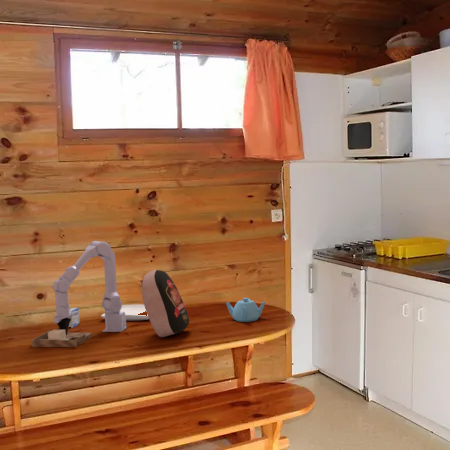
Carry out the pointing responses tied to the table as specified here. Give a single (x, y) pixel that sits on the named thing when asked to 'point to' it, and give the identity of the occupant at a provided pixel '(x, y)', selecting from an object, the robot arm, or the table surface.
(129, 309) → the square plate
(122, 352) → the table surface
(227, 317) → the table surface
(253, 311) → the teapot
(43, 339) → the trap tray
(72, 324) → the medicine box
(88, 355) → the table surface
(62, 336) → the cream block
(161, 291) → the packaged food
